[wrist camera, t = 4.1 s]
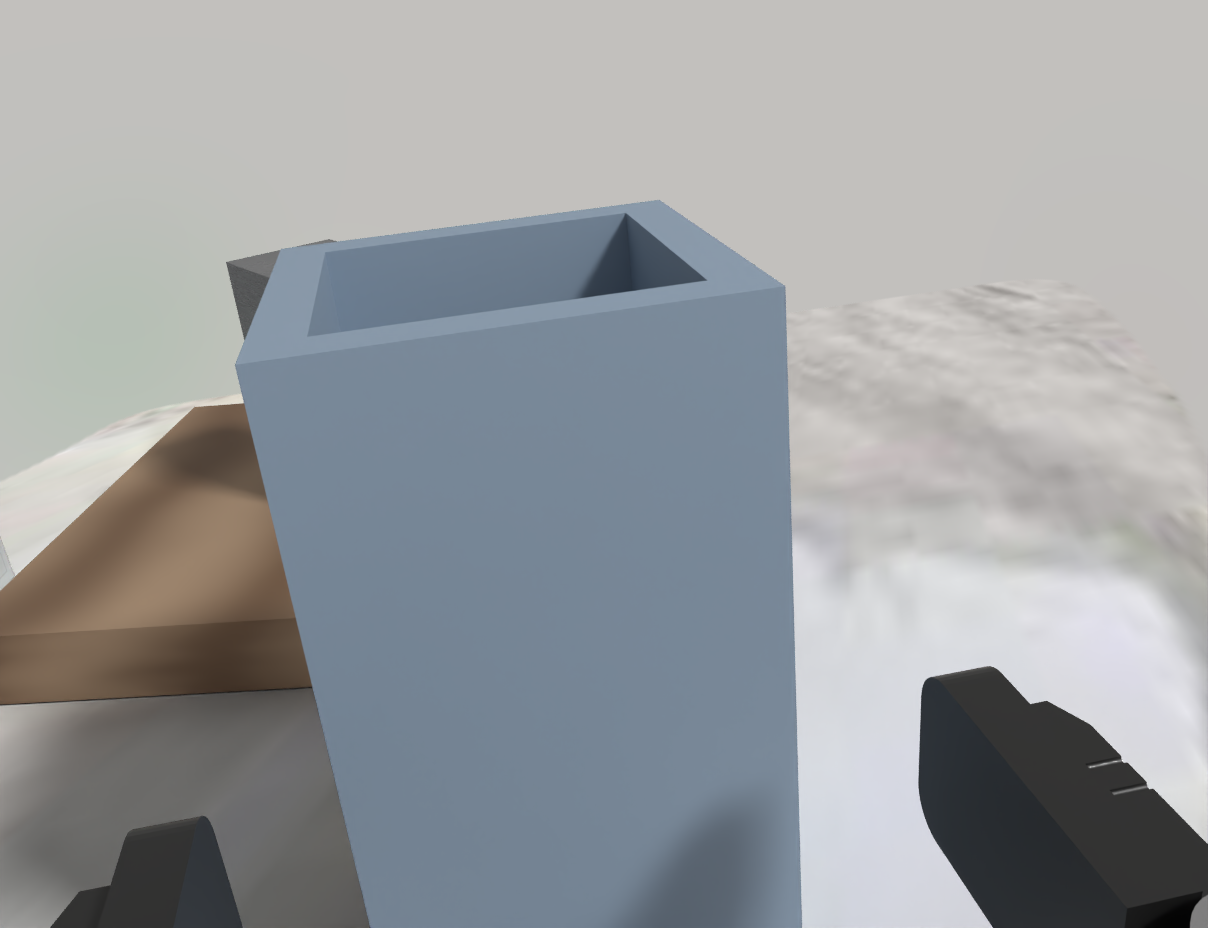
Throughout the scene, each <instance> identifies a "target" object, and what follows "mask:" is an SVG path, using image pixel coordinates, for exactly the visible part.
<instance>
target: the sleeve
mask: <svg viewBox="0 0 1208 928" xmlns="http://www.w3.org/2000/svg"><path fill="white" fill-rule="evenodd" d="M235 367H236V371H237V375H238V379H239V384H240V388H241V392H242V396H243V400H244V405H245V409H246V413H247V417H248V421H249V425H250V429H251V434H252V438H253V442H254V446H255V450H256V454H257V459H258V463H259V467H260V471H261V475H262V479H263V484H264V488H265V492H266V496H267V500H268V504H269V508H270V513H271V517H272V521H273V525H274V529H275V533H276V538H277V542H278V546H279V550H280V554H281V558H282V563H283V567H284V571H285V575H286V579H287V583H288V587H289V592H290V596H291V600H292V604H293V608H294V612H295V617H296V621H297V625H298V629H299V633H300V637H301V642H302V646H303V650H304V654H305V658H306V662H307V666H308V671H309V675H310V679H311V683H312V687H313V691H314V696H315V700H316V704H317V708H318V712H319V716H320V721H321V725H322V729H323V733H324V737H325V741H326V745H327V750H328V754H329V758H330V762H331V766H332V770H333V775H334V779H335V783H336V787H337V791H338V795H339V800H340V804H341V808H342V812H343V816H344V820H345V824H346V829H347V833H348V837H349V841H350V845H351V849H352V854H353V858H354V862H355V866H356V870H357V874H358V879H359V883H360V887H361V891H362V895H363V899H364V903H365V908H366V912H367V916H368V920H369V924H370V928H802V910H801V872H800V833H799V795H798V756H797V718H796V680H795V641H794V603H793V564H792V526H791V487H790V449H789V410H788V372H787V333H786V295H785V286H784V285H783V284H781V283H780V282H778V281H777V280H775V279H774V278H772V277H771V276H770V275H768V274H767V273H765V272H764V271H762V270H761V269H759V268H758V267H756V266H755V265H754V264H752V263H751V262H749V261H748V260H746V259H745V258H743V257H742V256H740V255H739V254H738V253H736V252H735V251H733V250H732V249H730V248H729V247H727V246H726V245H724V244H723V243H721V242H720V241H719V240H717V239H716V238H714V237H712V236H711V235H710V234H708V233H707V232H705V231H704V230H702V229H701V228H699V227H698V226H697V225H695V224H694V223H692V222H691V221H689V220H688V219H686V218H685V217H683V216H682V215H681V214H679V213H678V212H676V211H675V210H673V209H672V208H670V207H669V206H667V205H666V204H664V203H663V202H661V201H660V200H655V201H648V202H640V203H632V204H625V205H618V206H609V207H601V208H594V209H586V210H579V211H571V212H563V213H556V214H548V215H540V216H532V217H525V218H517V219H509V220H501V221H494V222H486V223H478V224H470V225H463V226H455V227H447V228H439V229H432V230H424V231H416V232H409V233H401V234H393V235H385V236H378V237H371V238H362V239H355V240H347V241H340V242H331V243H324V244H316V245H308V246H301V247H293V248H285V249H281V250H280V253H279V255H278V258H277V261H276V263H275V266H274V268H273V271H272V273H271V276H270V278H269V281H268V283H267V286H266V288H265V291H264V293H263V296H262V298H261V301H260V303H259V306H258V308H257V311H256V313H255V316H254V318H253V321H252V323H251V326H250V328H249V331H248V333H247V336H246V338H245V341H244V343H243V346H242V349H241V351H240V354H239V356H238V359H237V361H236V364H235Z"/></svg>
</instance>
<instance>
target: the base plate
mask: <svg viewBox="0 0 1208 928" xmlns="http://www.w3.org/2000/svg"><path fill="white" fill-rule="evenodd" d="M300 687H312V683H311V679H310V675H309V671H308V666H307V662H306V658H305V654H304V650H303V646H302V642H301V637H300V633H299V629H298V625H297V621H296V617H295V612H294V608H293V604H292V600H291V596H290V592H289V587H288V583H287V579H286V575H285V571H284V567H283V563H282V558H281V554H280V550H279V546H278V542H277V538H276V533H275V529H274V525H273V521H272V517H271V513H270V508H269V504H268V500H267V496H266V492H265V488H264V484H263V479H262V475H261V471H260V467H259V463H258V459H257V454H256V450H255V446H254V442H253V438H252V434H251V429H250V425H249V421H248V417H247V413H246V409H245V405H244V404H231V405H218V406H204V407H194V408H193V409H192V410H191V411H190V412H189V413H188V414H187V415H186V416H185V417H184V418H183V419H182V420H181V421H179V422H178V423H177V424H176V425H175V426H174V427H173V428H172V429H171V430H170V431H169V432H168V433H167V434H166V435H165V436H164V437H163V438H161V439H160V440H159V441H158V442H157V443H156V444H155V445H154V446H153V447H152V448H151V449H150V450H149V451H148V452H147V453H146V454H145V455H143V456H142V457H141V458H140V459H139V460H138V461H137V462H136V463H135V464H134V465H133V466H132V467H131V468H130V469H129V470H128V471H127V472H125V473H124V474H123V475H122V476H121V477H120V478H119V479H118V480H117V481H116V482H115V483H114V484H113V485H112V486H111V487H110V488H109V489H107V490H106V491H105V492H104V493H103V494H102V495H101V496H100V497H99V498H98V499H97V500H96V501H95V502H94V503H93V504H92V505H91V506H89V507H88V508H87V509H86V510H85V511H84V512H83V513H82V514H81V515H80V516H79V517H78V518H77V519H76V520H75V521H74V522H73V523H71V524H70V525H69V526H68V527H67V528H66V529H65V530H64V531H63V532H62V533H61V534H60V535H59V536H58V537H57V538H56V539H55V540H53V541H52V542H51V543H50V544H49V545H48V546H47V547H46V548H45V549H44V550H43V551H42V552H41V553H40V554H39V555H38V556H36V557H35V558H34V559H33V560H32V561H31V562H30V563H29V564H28V565H27V566H26V567H25V568H24V569H23V570H22V571H21V572H20V573H18V574H17V575H16V576H15V577H14V578H13V579H12V580H11V581H10V582H9V583H8V584H7V585H6V586H5V587H4V588H3V589H2V590H0V704H17V703H35V702H52V701H70V700H88V699H105V698H123V697H141V696H159V695H176V694H194V693H212V692H229V691H247V690H265V689H283V688H300Z"/></svg>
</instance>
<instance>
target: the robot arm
mask: <svg viewBox="0 0 1208 928" xmlns="http://www.w3.org/2000/svg"><path fill="white" fill-rule="evenodd" d="M919 795H920V801H921V805H922V809H923V813H924V816H925V819H926V822H927V824H928V827H929V829H930V831H931V833H932V835H933V837H934V839H935V841H936V842H937V844H938V845H939V847H940V848H941V850H942V851H943V853H944V854H945V856H946V857H947V859H948V860H949V862H950V863H951V865H952V866H953V868H954V869H955V871H956V872H957V874H958V876H959V877H960V879H961V880H962V882H963V883H964V885H965V886H966V888H967V889H968V891H969V892H970V894H971V895H972V897H973V898H974V900H975V901H976V903H977V904H978V906H979V907H980V909H981V910H982V912H983V913H984V915H985V916H986V918H987V919H988V921H989V922H990V924H991V925H992V927H993V928H1208V844H1207V843H1206V842H1205V841H1204V840H1203V839H1202V838H1201V837H1200V836H1199V835H1198V834H1197V833H1196V832H1195V831H1194V830H1193V829H1192V828H1191V827H1190V826H1189V825H1188V824H1187V823H1186V822H1185V821H1184V820H1183V819H1182V818H1181V817H1180V816H1179V815H1178V814H1177V813H1176V812H1175V810H1174V809H1173V808H1172V807H1171V806H1170V805H1169V804H1168V803H1167V802H1166V801H1165V800H1164V799H1163V798H1162V797H1161V796H1160V795H1159V794H1158V793H1157V792H1156V791H1155V790H1154V789H1149V788H1148V787H1147V782H1146V781H1145V780H1144V779H1143V778H1142V777H1141V776H1140V775H1139V774H1138V773H1137V772H1136V771H1135V770H1134V769H1133V768H1132V767H1131V766H1130V765H1129V764H1128V763H1123V762H1122V759H1121V755H1120V754H1119V753H1118V752H1117V751H1116V750H1115V749H1114V748H1113V747H1112V746H1111V745H1110V744H1109V743H1108V742H1107V741H1106V740H1105V739H1104V738H1103V737H1102V736H1101V735H1100V734H1099V733H1098V732H1097V731H1096V730H1095V729H1094V728H1093V727H1092V726H1091V725H1090V724H1088V723H1086V722H1084V721H1083V720H1081V719H1079V718H1077V717H1075V716H1073V715H1072V714H1070V713H1068V712H1066V711H1064V710H1063V709H1061V708H1059V707H1057V706H1055V705H1053V704H1052V703H1050V702H1048V701H1044V702H1039V703H1034V704H1030V703H1029V702H1028V701H1027V700H1026V699H1025V698H1024V697H1023V696H1022V695H1021V694H1020V693H1019V692H1018V691H1017V689H1016V688H1015V687H1014V686H1013V685H1012V684H1011V683H1010V682H1009V681H1008V680H1007V679H1006V678H1005V676H1004V675H1003V674H1002V673H1001V672H1000V671H999V670H997V669H996V668H994V667H991V666H987V667H982V668H976V669H971V670H966V671H961V672H956V673H951V674H945V675H940V676H935V677H930V678H928V679H927V680H926V681H925V682H924V685H923V688H922V695H921V723H920V752H919ZM50 928H242V924H241V920H240V916H239V913H238V910H237V907H236V903H235V900H234V897H233V893H232V890H231V887H230V883H229V880H228V877H227V873H226V870H225V867H224V863H223V860H222V857H221V854H220V850H219V847H218V844H217V840H216V837H215V834H214V831H213V828H212V825H211V823H210V821H209V820H208V819H207V818H206V817H205V816H200V817H195V818H190V819H185V820H180V821H175V822H169V823H164V824H159V825H154V826H149V827H144V828H138V829H133V830H131V831H130V832H129V833H128V834H127V836H126V838H125V841H124V844H123V847H122V850H121V853H120V857H119V860H118V863H117V866H116V870H115V873H114V876H113V879H112V883H111V886H106V887H101V888H96V889H91V890H85V891H80V892H79V893H78V894H77V895H76V897H75V898H74V899H73V900H72V901H71V903H70V904H69V905H68V906H67V908H66V909H65V910H64V911H63V913H62V914H61V915H60V916H59V917H58V919H57V920H56V921H55V922H54V924H53V925H52V926H51V927H50Z"/></svg>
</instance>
